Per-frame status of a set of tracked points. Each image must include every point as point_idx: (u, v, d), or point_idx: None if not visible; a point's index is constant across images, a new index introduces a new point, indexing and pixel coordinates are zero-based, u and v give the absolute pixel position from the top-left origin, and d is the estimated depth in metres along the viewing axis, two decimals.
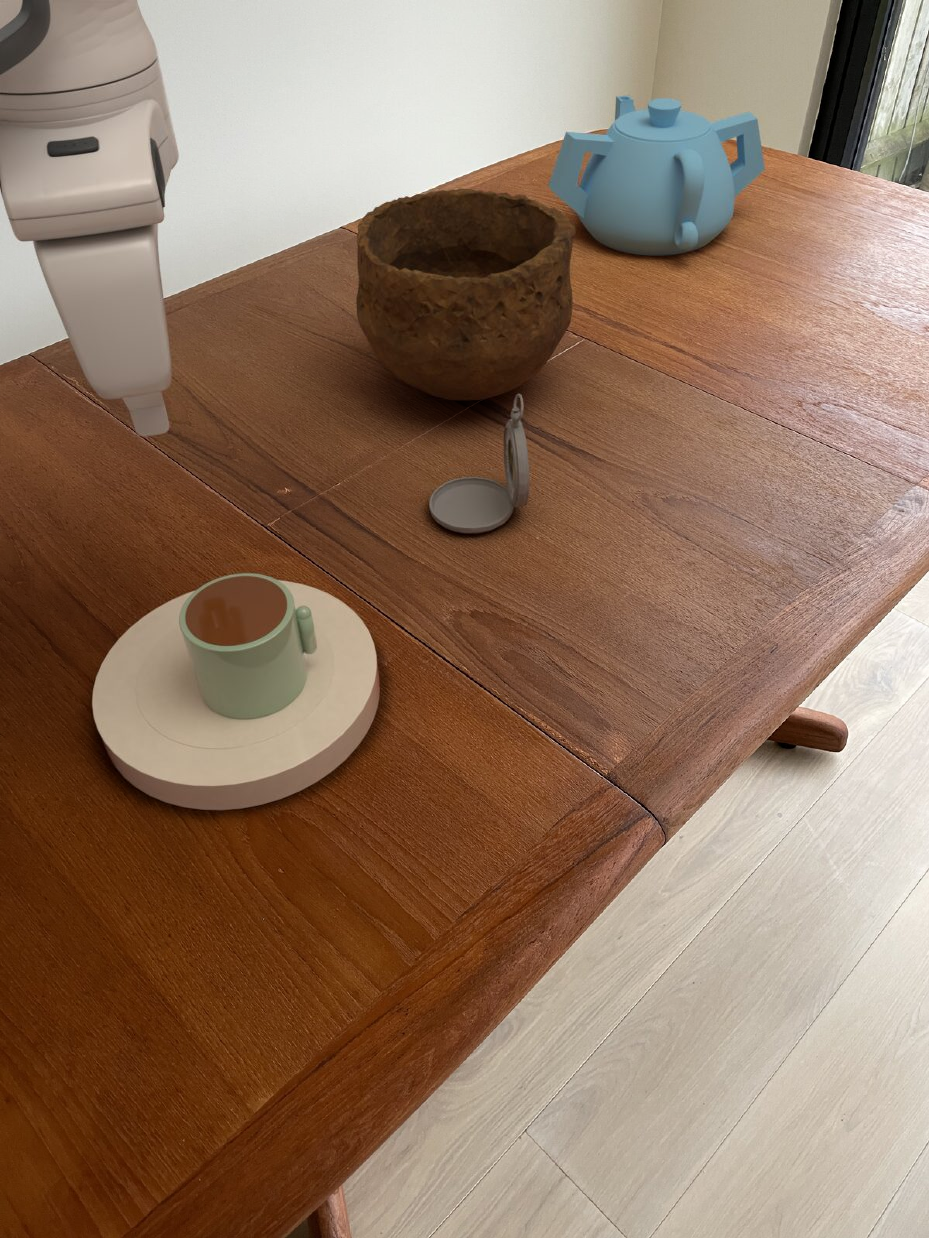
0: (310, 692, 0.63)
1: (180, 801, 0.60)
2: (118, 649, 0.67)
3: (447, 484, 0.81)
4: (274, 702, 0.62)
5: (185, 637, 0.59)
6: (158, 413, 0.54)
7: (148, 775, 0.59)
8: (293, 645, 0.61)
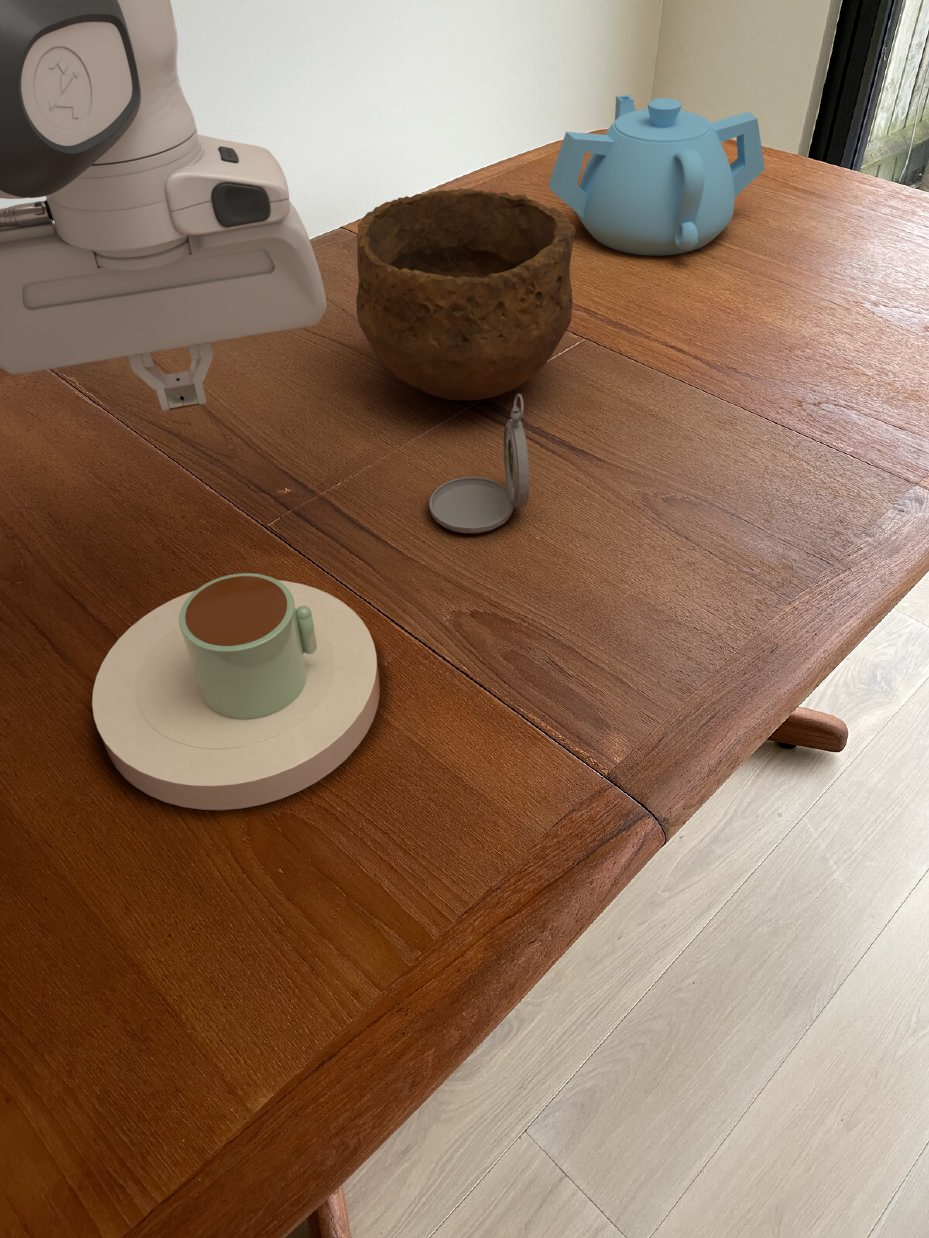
0: (310, 692, 0.63)
1: (180, 801, 0.60)
2: (118, 649, 0.67)
3: (447, 484, 0.81)
4: (274, 702, 0.62)
5: (185, 637, 0.59)
6: None
7: (148, 775, 0.59)
8: (293, 645, 0.61)
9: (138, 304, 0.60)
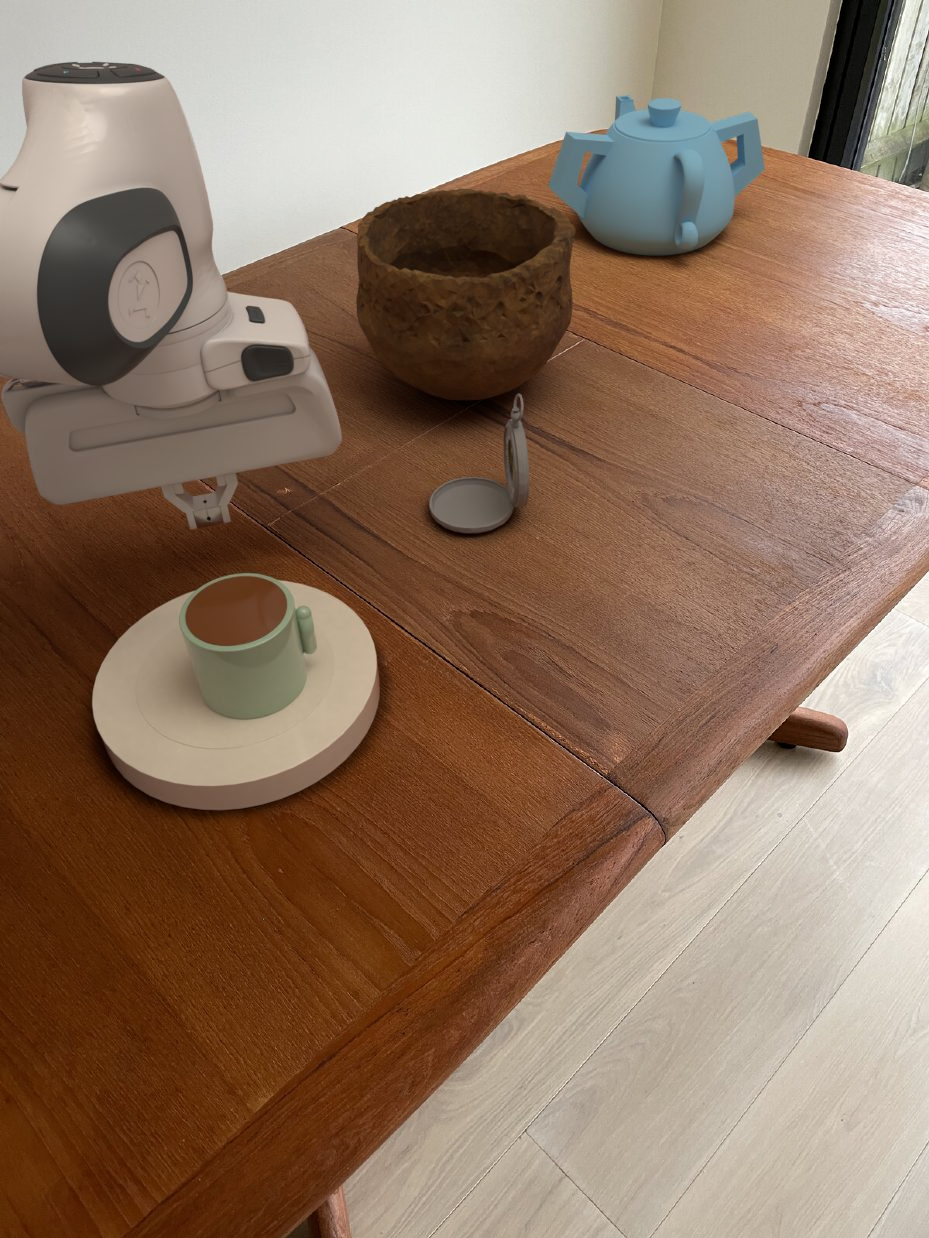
0: (310, 692, 0.63)
1: (180, 801, 0.60)
2: (118, 649, 0.67)
3: (447, 484, 0.81)
4: (274, 702, 0.62)
5: (185, 637, 0.59)
6: None
7: (148, 775, 0.59)
8: (293, 645, 0.61)
9: (172, 443, 0.66)
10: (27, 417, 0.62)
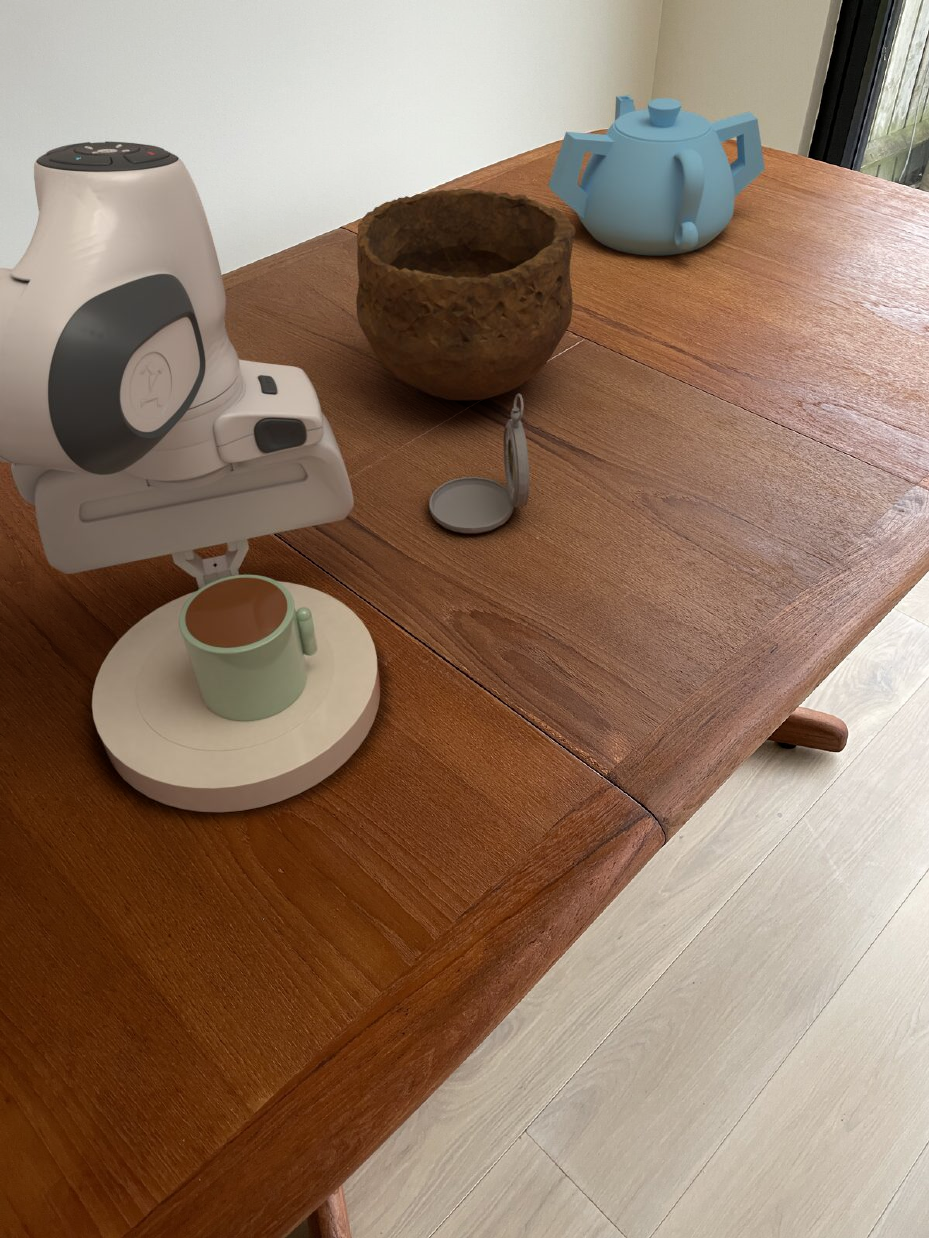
0: (310, 694, 0.63)
1: (180, 803, 0.60)
2: (118, 650, 0.66)
3: (447, 484, 0.81)
4: (274, 703, 0.61)
5: (185, 639, 0.59)
6: None
7: (148, 777, 0.59)
8: (293, 647, 0.61)
9: (183, 512, 0.65)
10: (37, 490, 0.62)
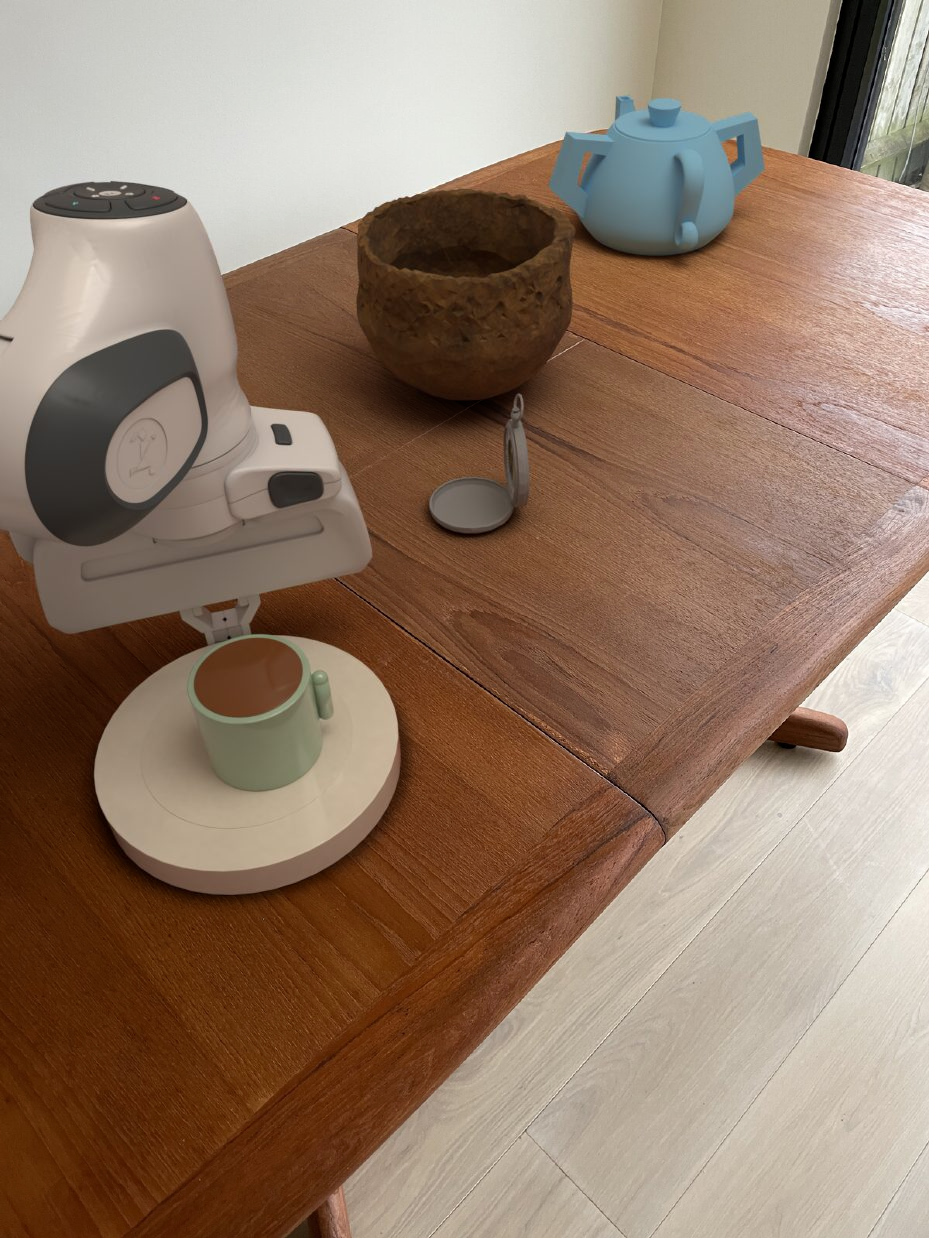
0: (327, 763, 0.59)
1: (188, 885, 0.56)
2: (122, 713, 0.62)
3: (447, 484, 0.81)
4: (288, 773, 0.58)
5: (193, 707, 0.55)
6: None
7: (154, 858, 0.55)
8: (309, 714, 0.57)
9: (191, 568, 0.61)
10: (36, 549, 0.58)
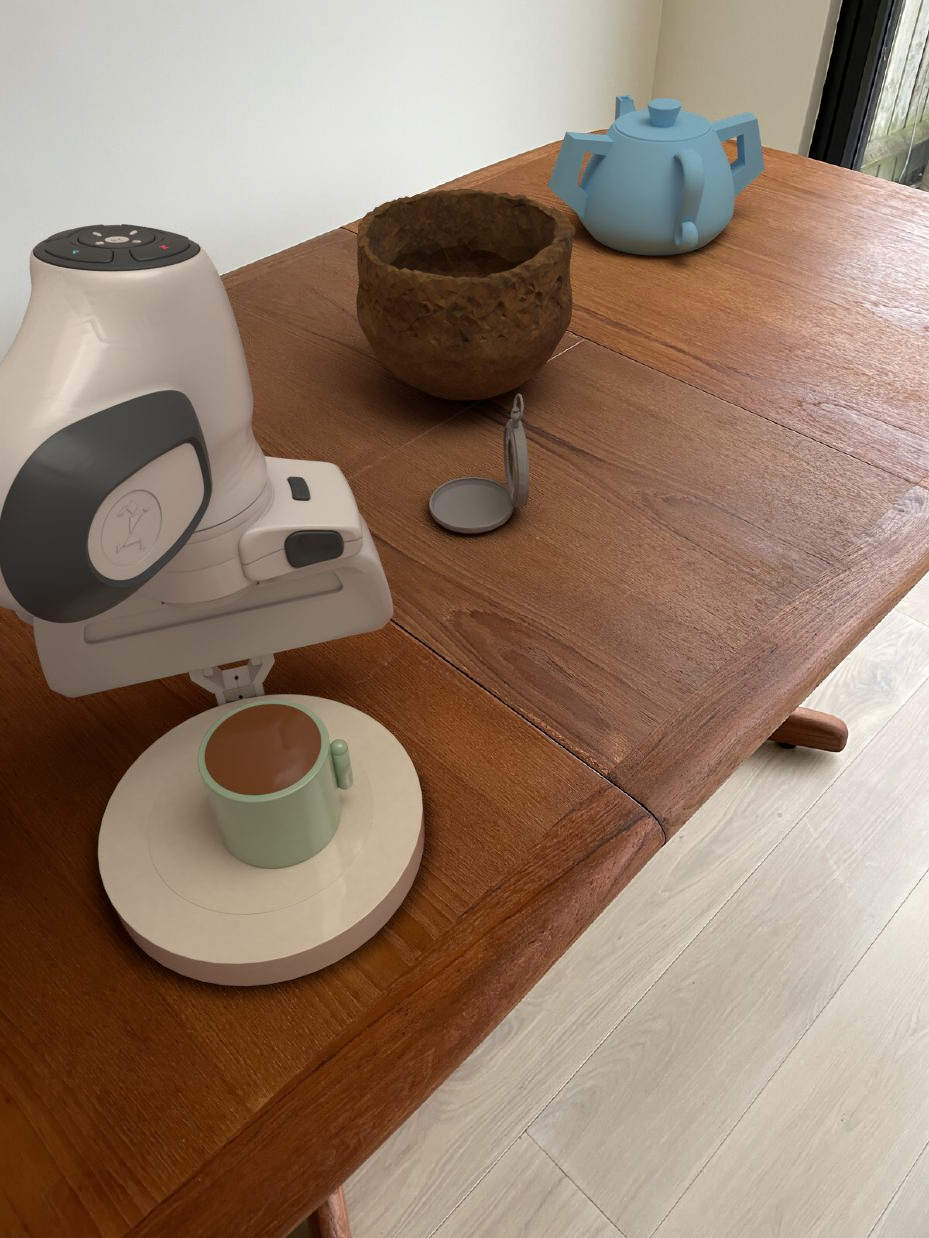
0: (347, 840, 0.55)
1: (199, 976, 0.52)
2: (128, 782, 0.59)
3: (447, 484, 0.81)
4: (305, 849, 0.54)
5: (205, 782, 0.51)
6: None
7: (162, 948, 0.51)
8: (328, 787, 0.53)
9: (202, 629, 0.57)
10: None
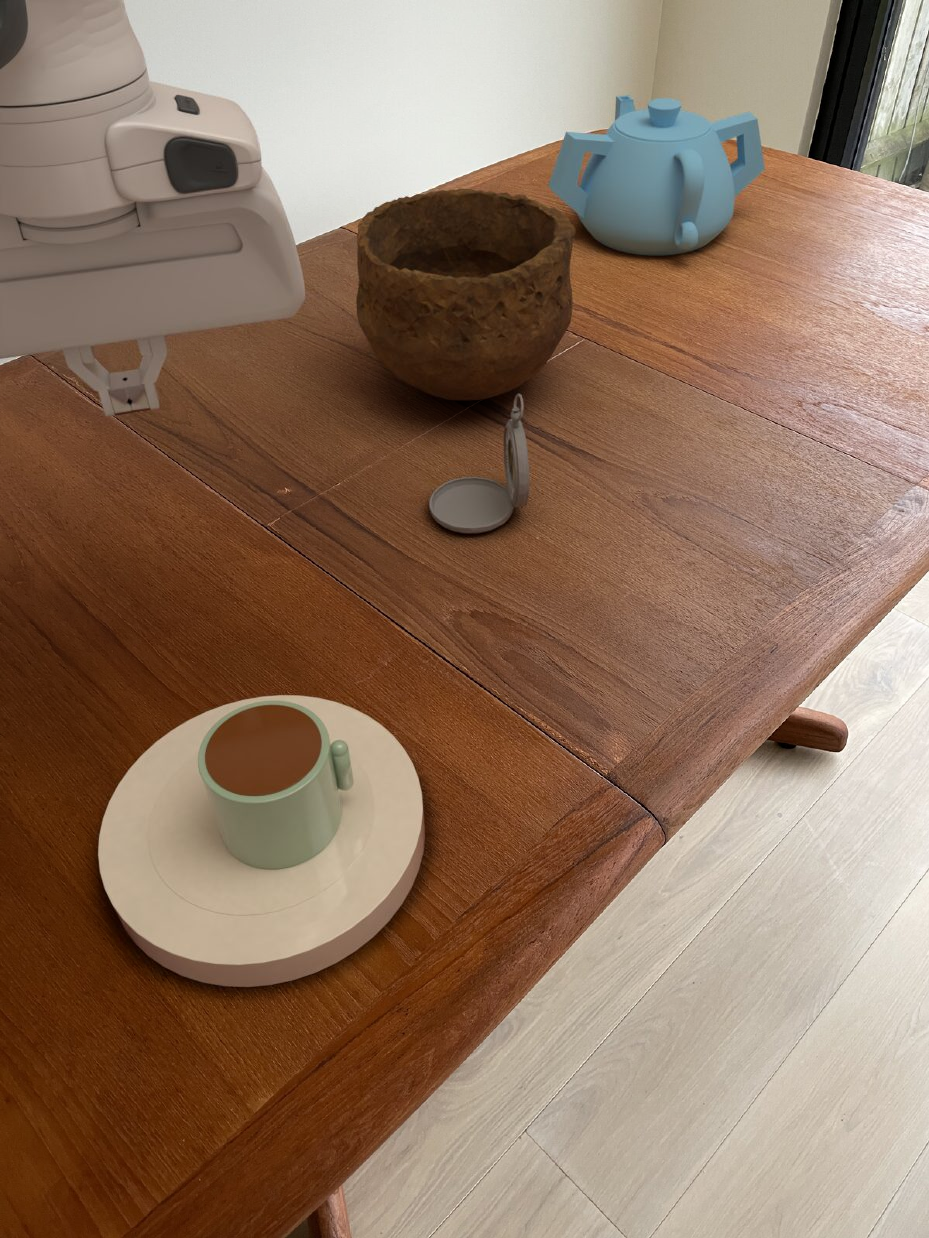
0: (347, 841, 0.55)
1: (199, 977, 0.52)
2: (128, 783, 0.59)
3: (447, 484, 0.81)
4: (305, 850, 0.54)
5: (205, 783, 0.51)
6: None
7: (162, 949, 0.51)
8: (328, 788, 0.53)
9: (74, 286, 0.49)
10: None
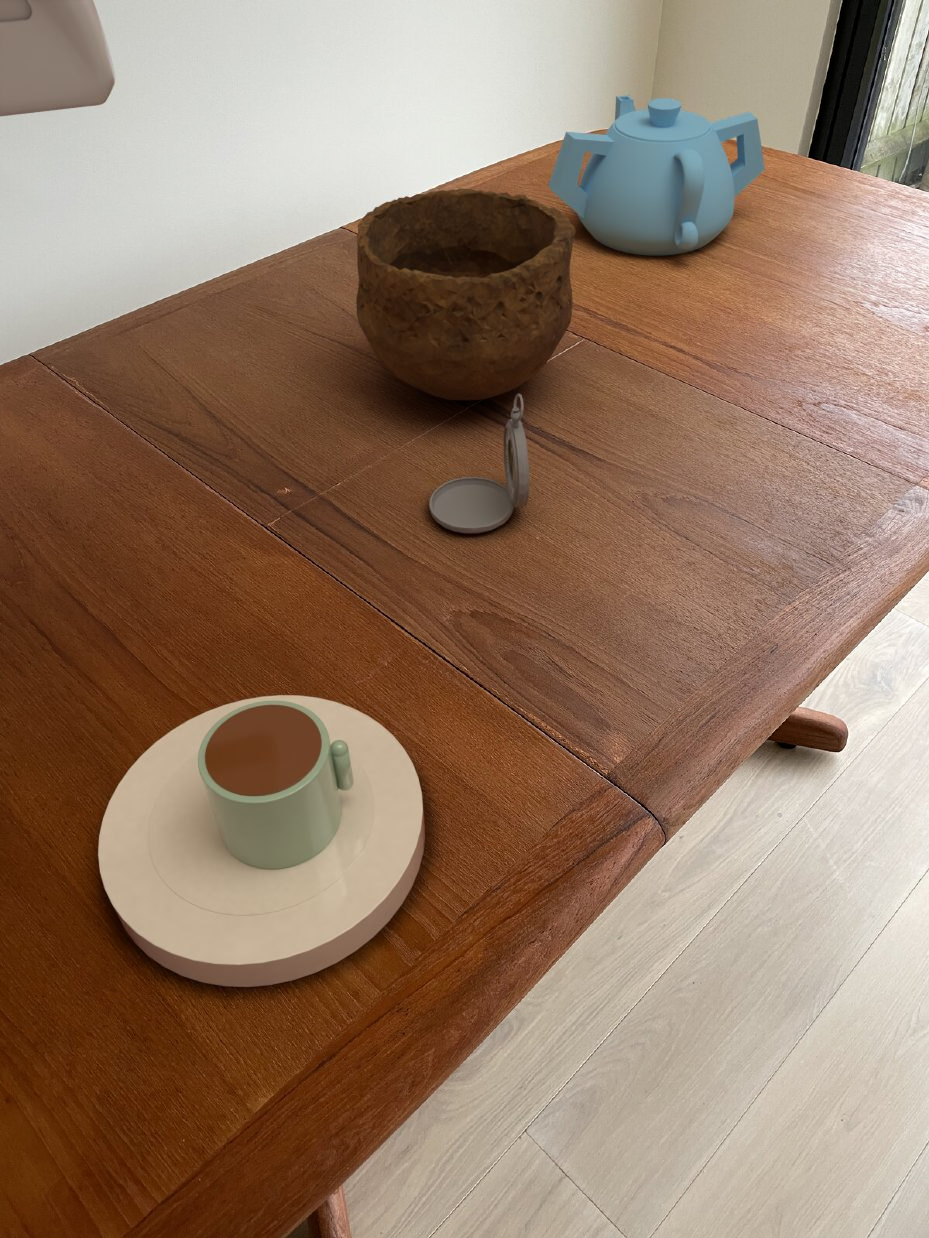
0: (347, 841, 0.55)
1: (199, 977, 0.52)
2: (128, 783, 0.59)
3: (447, 484, 0.81)
4: (305, 850, 0.54)
5: (205, 783, 0.51)
6: None
7: (162, 949, 0.51)
8: (328, 788, 0.53)
9: None
10: None
